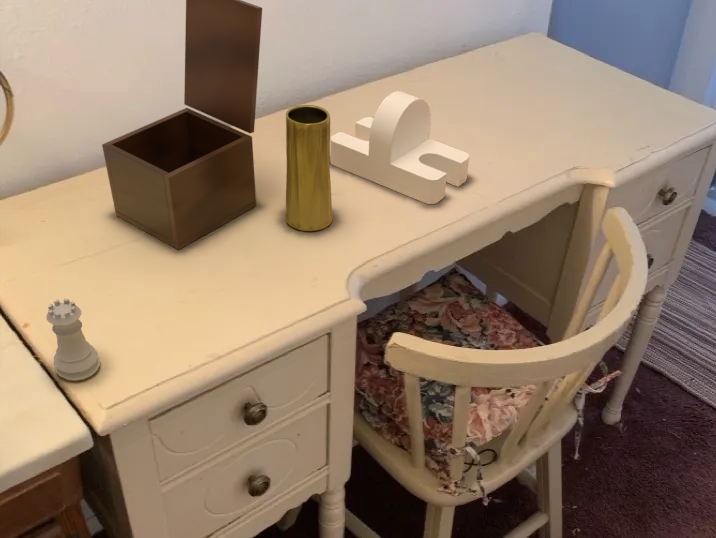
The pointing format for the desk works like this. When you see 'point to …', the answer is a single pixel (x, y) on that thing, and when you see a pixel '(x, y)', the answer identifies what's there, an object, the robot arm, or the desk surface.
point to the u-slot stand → (401, 151)
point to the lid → (223, 59)
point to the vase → (308, 168)
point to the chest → (181, 176)
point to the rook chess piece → (71, 343)
